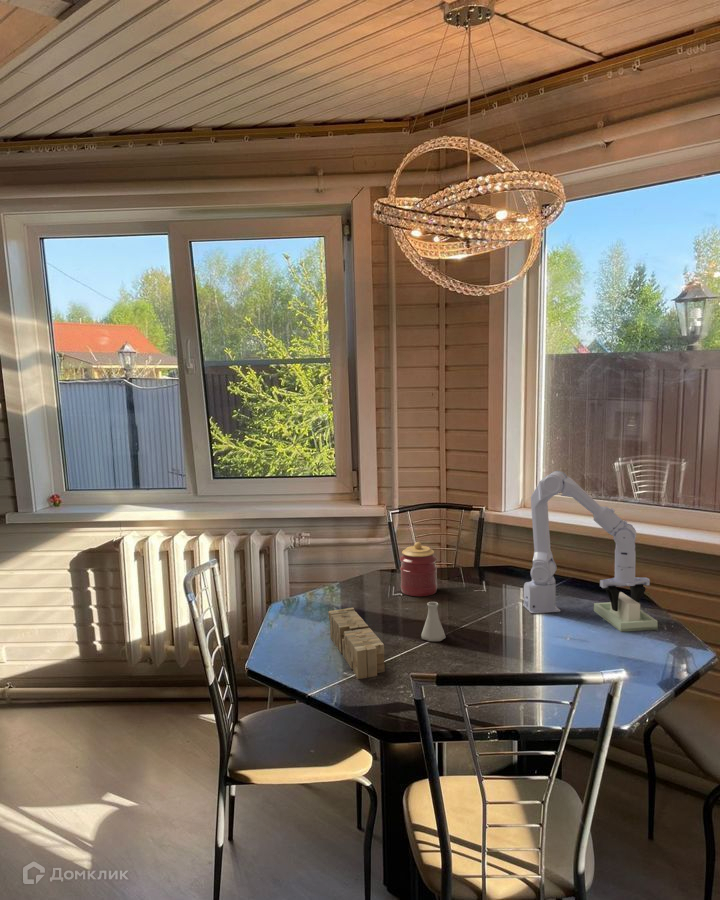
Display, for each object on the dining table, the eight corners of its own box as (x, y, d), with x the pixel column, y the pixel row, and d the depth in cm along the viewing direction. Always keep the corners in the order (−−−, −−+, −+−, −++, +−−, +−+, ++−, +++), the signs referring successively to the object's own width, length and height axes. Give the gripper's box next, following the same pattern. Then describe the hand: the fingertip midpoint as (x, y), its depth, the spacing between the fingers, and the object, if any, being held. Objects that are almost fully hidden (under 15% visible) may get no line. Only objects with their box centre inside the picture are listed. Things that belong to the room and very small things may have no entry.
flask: (448, 633, 183) (447, 600, 182) (443, 643, 176) (442, 608, 175) (424, 631, 185) (423, 598, 184) (418, 640, 179) (417, 606, 178)
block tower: (386, 678, 158) (354, 632, 186) (386, 646, 157) (354, 605, 185) (356, 683, 156) (328, 636, 184) (356, 651, 155) (328, 608, 183)
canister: (402, 585, 229) (400, 537, 227) (437, 585, 227) (436, 537, 225) (399, 596, 216) (397, 546, 214) (437, 597, 214) (436, 546, 213)
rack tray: (620, 631, 180) (620, 623, 180) (593, 611, 197) (594, 603, 197) (657, 629, 181) (657, 621, 181) (627, 608, 198) (627, 601, 198)
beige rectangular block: (628, 624, 183) (628, 604, 183) (610, 611, 194) (610, 592, 194) (639, 623, 184) (640, 604, 183) (621, 610, 195) (621, 591, 194)
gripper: (607, 570, 183) (607, 615, 184) (655, 567, 184) (654, 612, 185) (596, 563, 190) (596, 607, 191) (642, 561, 191) (642, 604, 193)
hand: (624, 609), depth 189 cm, fingers open, 5 cm apart
